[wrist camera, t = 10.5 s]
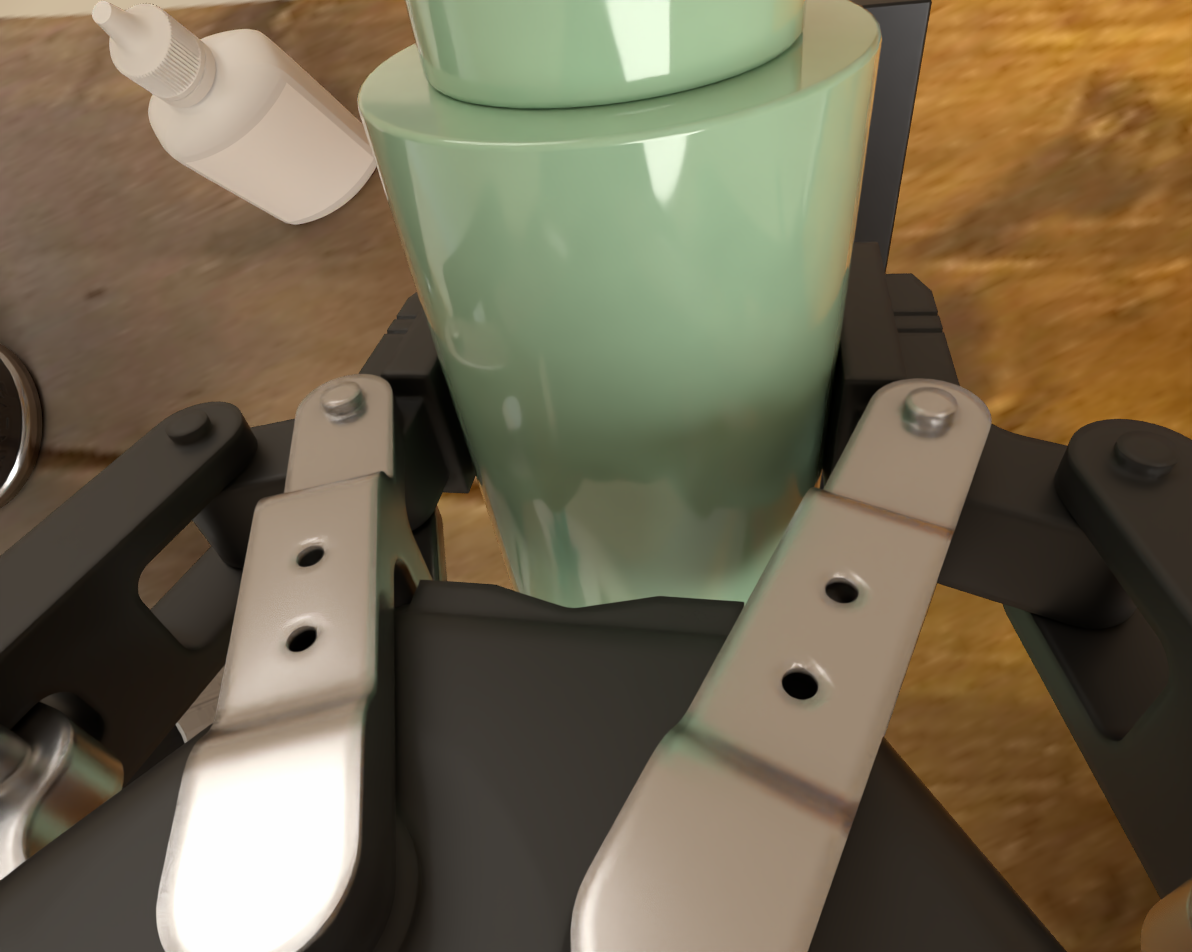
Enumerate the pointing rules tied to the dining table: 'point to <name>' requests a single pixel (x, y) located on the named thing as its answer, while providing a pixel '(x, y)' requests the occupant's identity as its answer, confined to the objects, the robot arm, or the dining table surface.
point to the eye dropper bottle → (241, 113)
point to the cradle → (890, 116)
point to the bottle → (632, 268)
